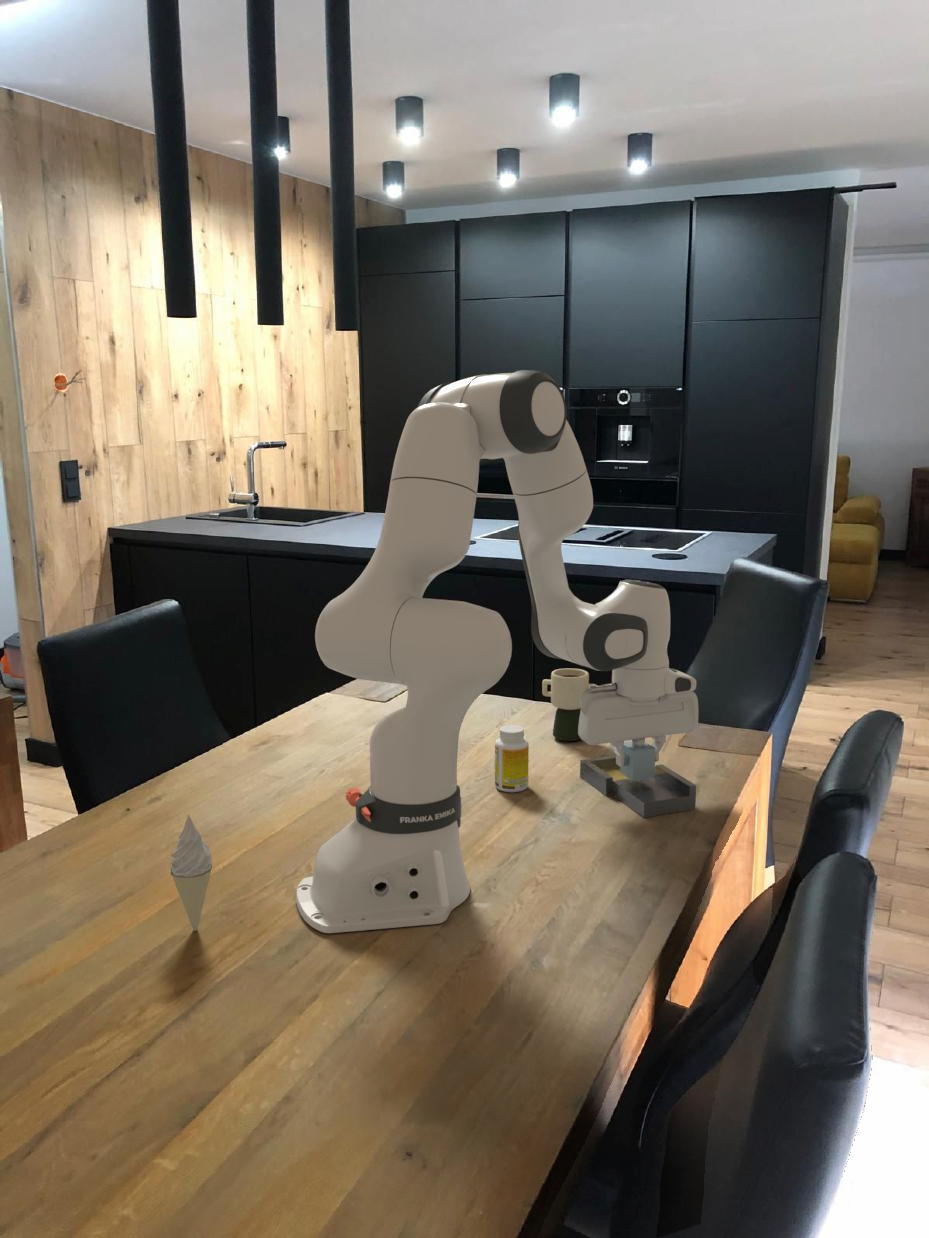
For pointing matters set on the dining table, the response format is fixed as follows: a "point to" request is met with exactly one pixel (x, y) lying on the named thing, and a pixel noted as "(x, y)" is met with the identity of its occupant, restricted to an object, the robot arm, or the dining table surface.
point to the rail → (640, 787)
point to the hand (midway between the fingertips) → (637, 763)
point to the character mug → (566, 700)
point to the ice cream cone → (191, 871)
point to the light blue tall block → (639, 760)
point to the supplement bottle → (511, 759)
